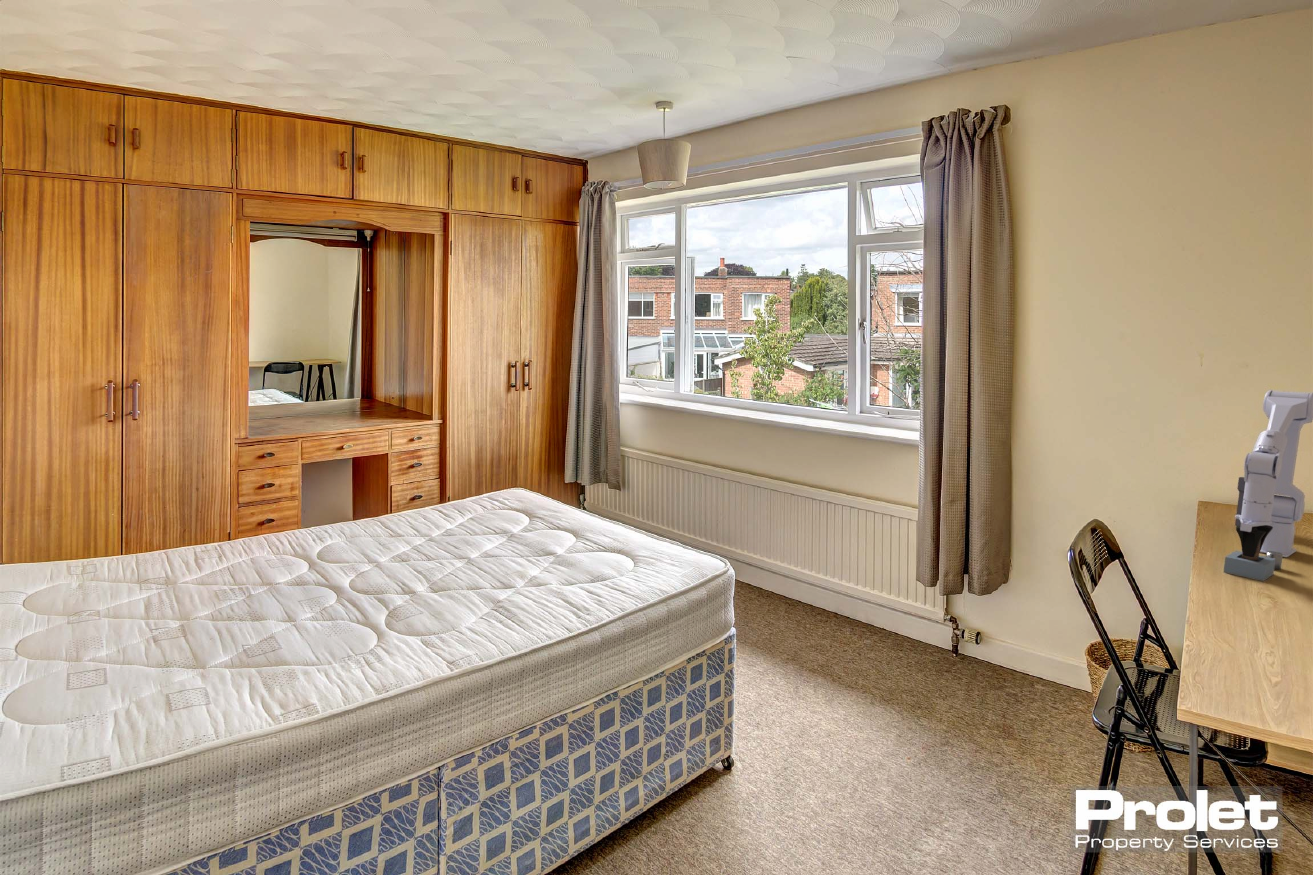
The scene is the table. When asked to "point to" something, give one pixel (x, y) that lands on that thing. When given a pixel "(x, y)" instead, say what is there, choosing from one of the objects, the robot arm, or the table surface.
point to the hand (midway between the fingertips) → (1250, 554)
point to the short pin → (1277, 557)
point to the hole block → (1249, 566)
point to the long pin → (1254, 556)
